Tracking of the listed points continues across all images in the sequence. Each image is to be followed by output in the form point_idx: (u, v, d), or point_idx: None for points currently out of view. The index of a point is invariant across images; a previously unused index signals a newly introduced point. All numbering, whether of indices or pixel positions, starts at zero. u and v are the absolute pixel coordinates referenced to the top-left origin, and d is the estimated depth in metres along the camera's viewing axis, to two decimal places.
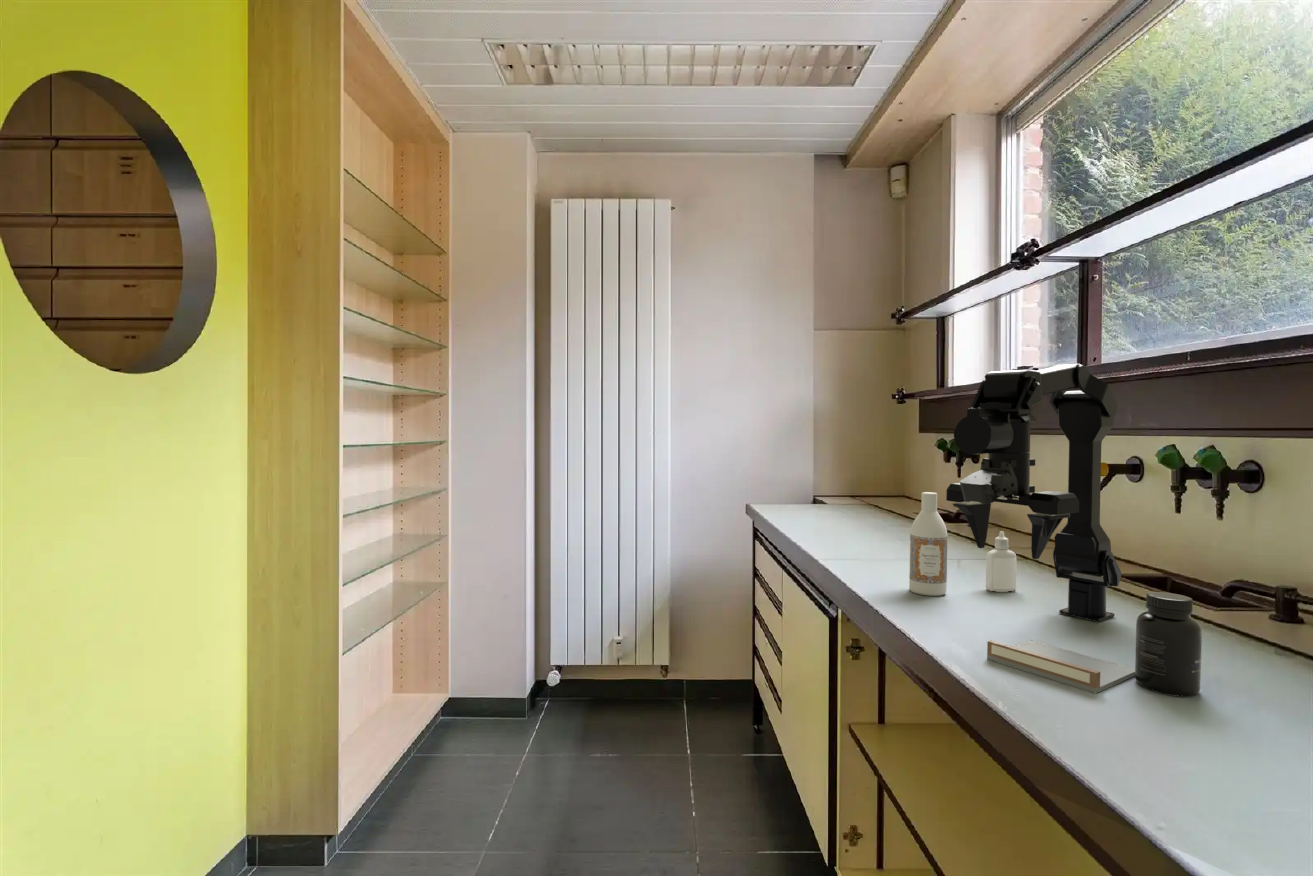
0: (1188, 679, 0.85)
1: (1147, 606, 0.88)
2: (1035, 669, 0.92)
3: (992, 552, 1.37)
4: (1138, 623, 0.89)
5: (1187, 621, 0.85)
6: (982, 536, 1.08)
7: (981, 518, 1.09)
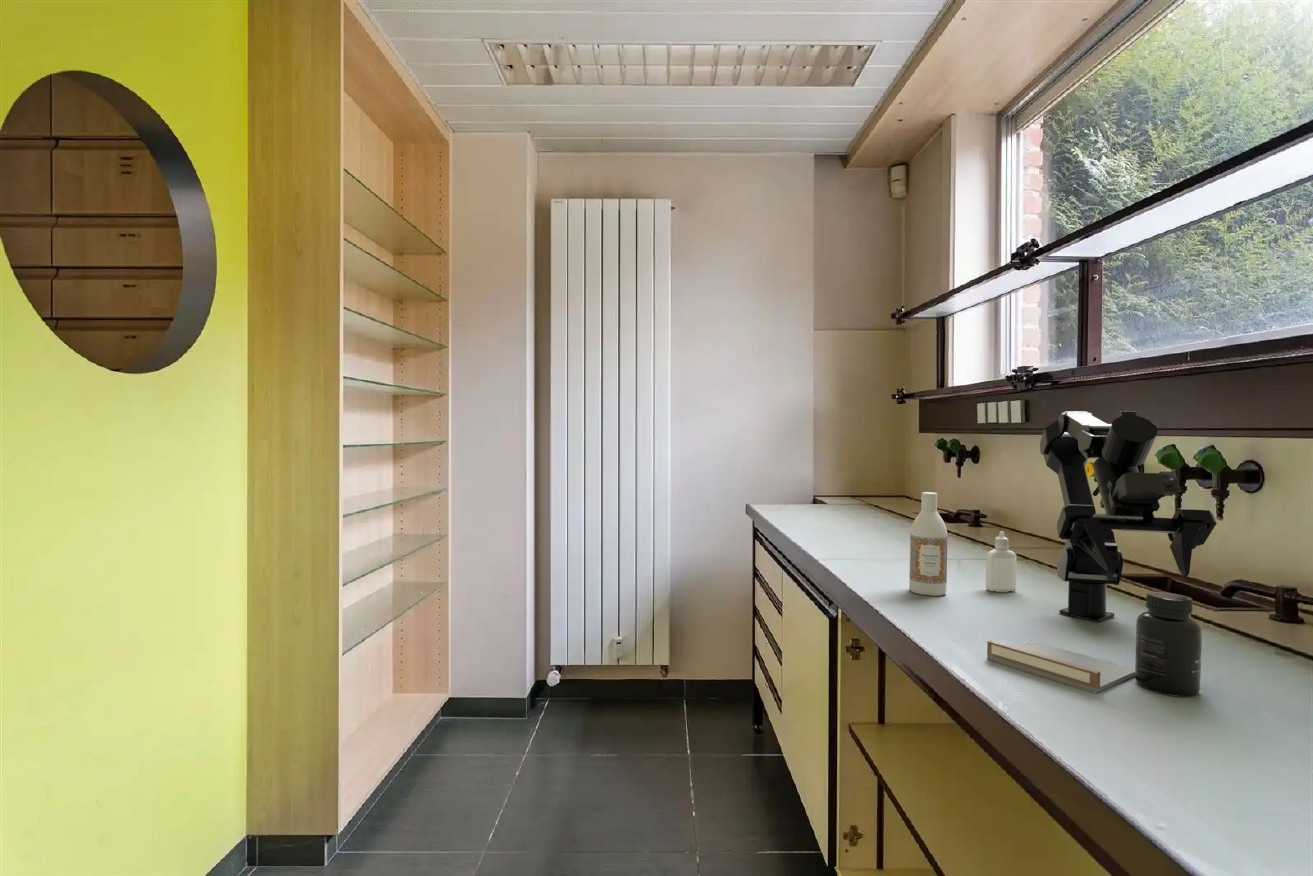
0: (1188, 679, 0.85)
1: (1147, 606, 0.88)
2: (1035, 669, 0.92)
3: (992, 552, 1.37)
4: (1138, 623, 0.89)
5: (1187, 621, 0.85)
6: None
7: None
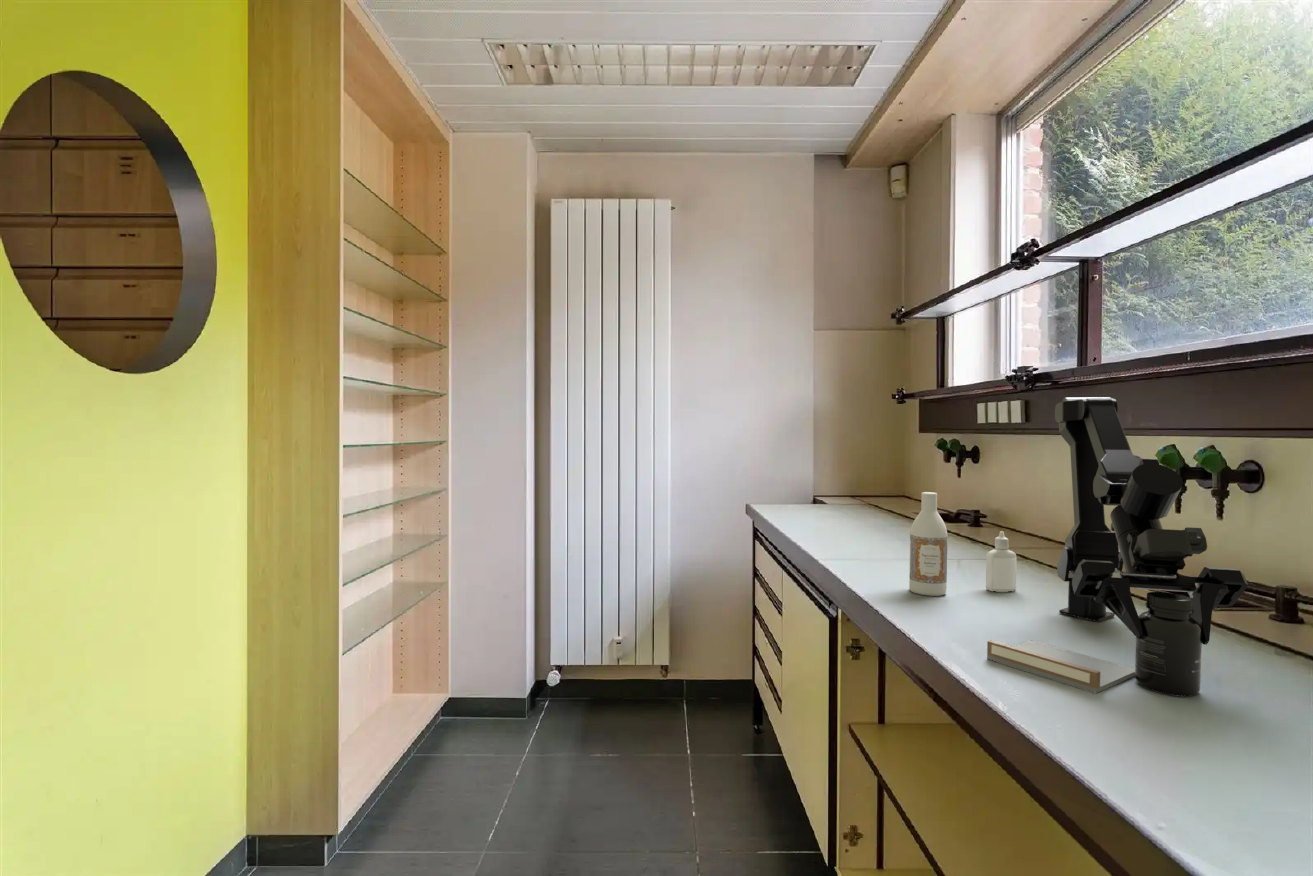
0: (1188, 679, 0.85)
1: (1147, 606, 0.88)
2: (1035, 669, 0.92)
3: (992, 552, 1.37)
4: None
5: (1187, 620, 0.85)
6: None
7: None
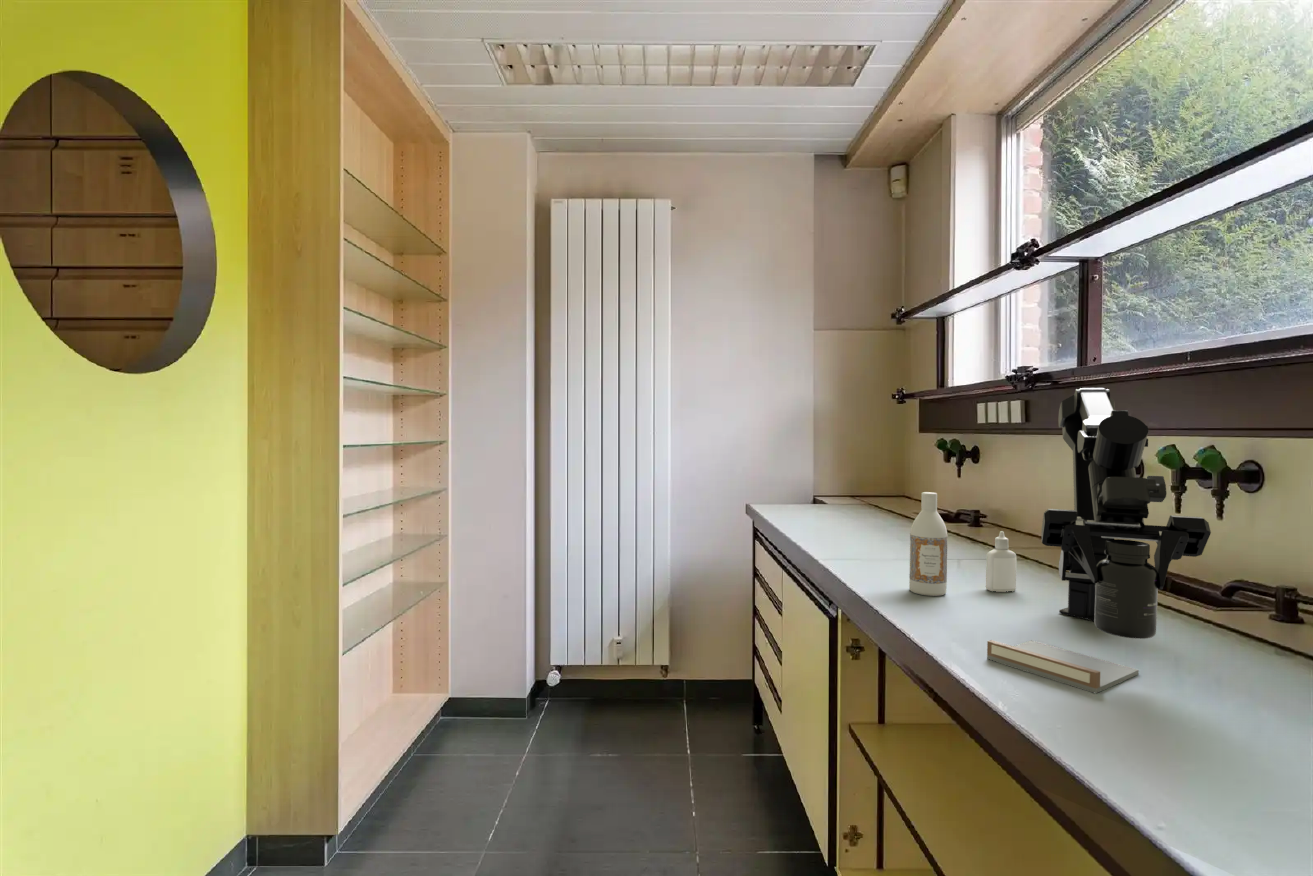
0: (1140, 621, 0.86)
1: (1105, 552, 0.90)
2: (1035, 669, 0.92)
3: (992, 552, 1.37)
4: None
5: (1141, 565, 0.87)
6: None
7: None
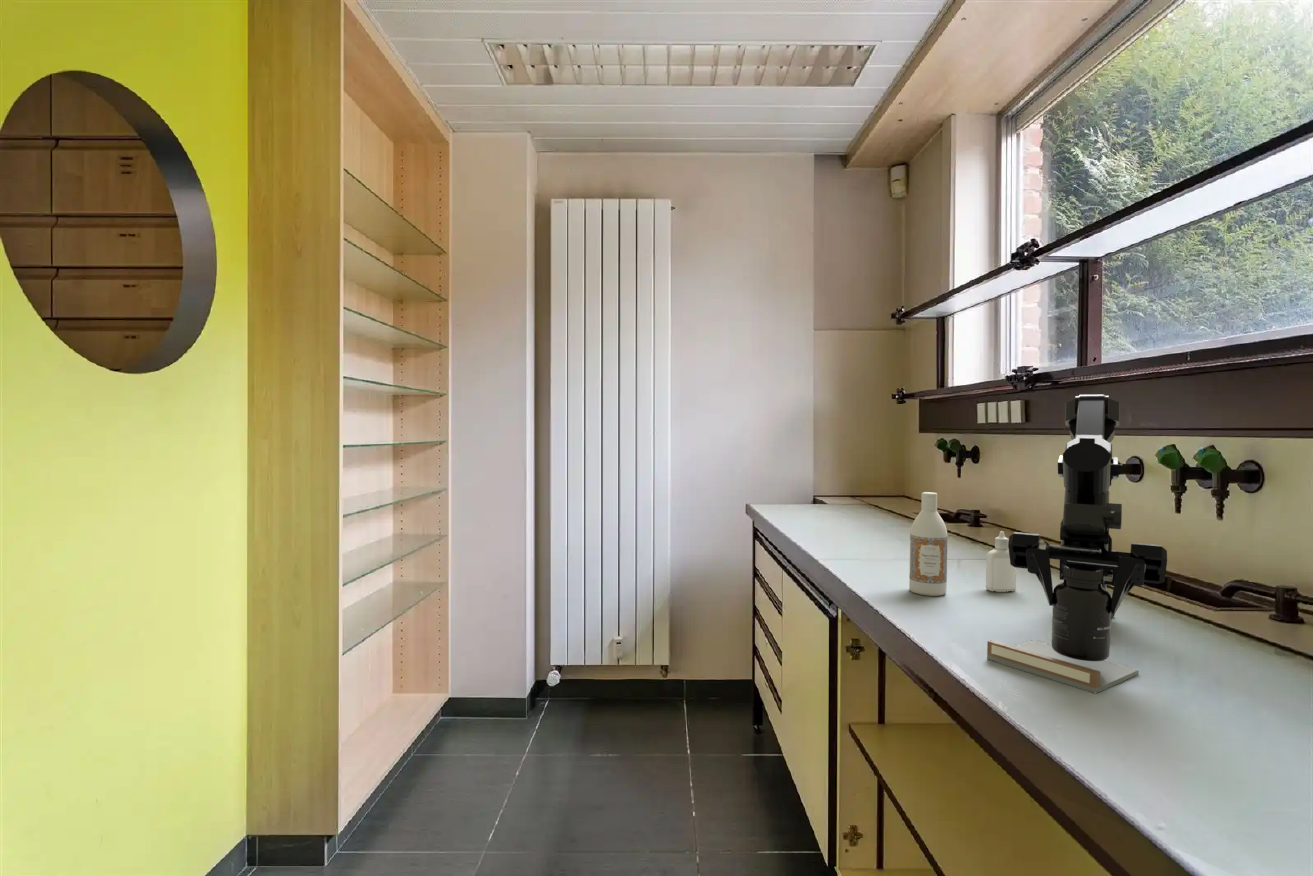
0: (1089, 644, 0.89)
1: (1061, 576, 0.94)
2: (1035, 669, 0.92)
3: (992, 552, 1.37)
4: (1053, 591, 0.94)
5: (1092, 590, 0.90)
6: None
7: None
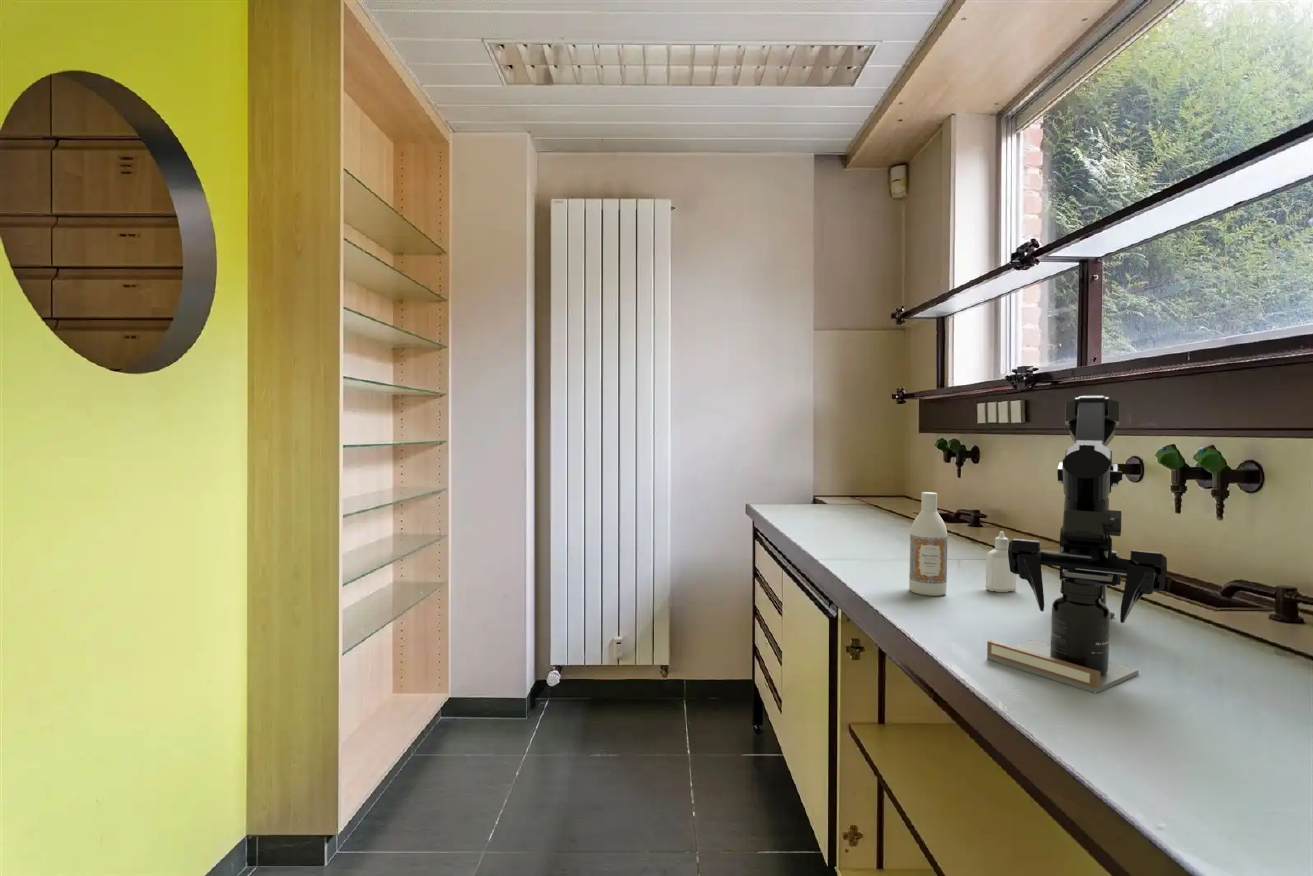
0: (1087, 659, 0.90)
1: (1060, 590, 0.94)
2: (1035, 669, 0.92)
3: (992, 552, 1.37)
4: (1052, 605, 0.95)
5: (1090, 605, 0.90)
6: None
7: None
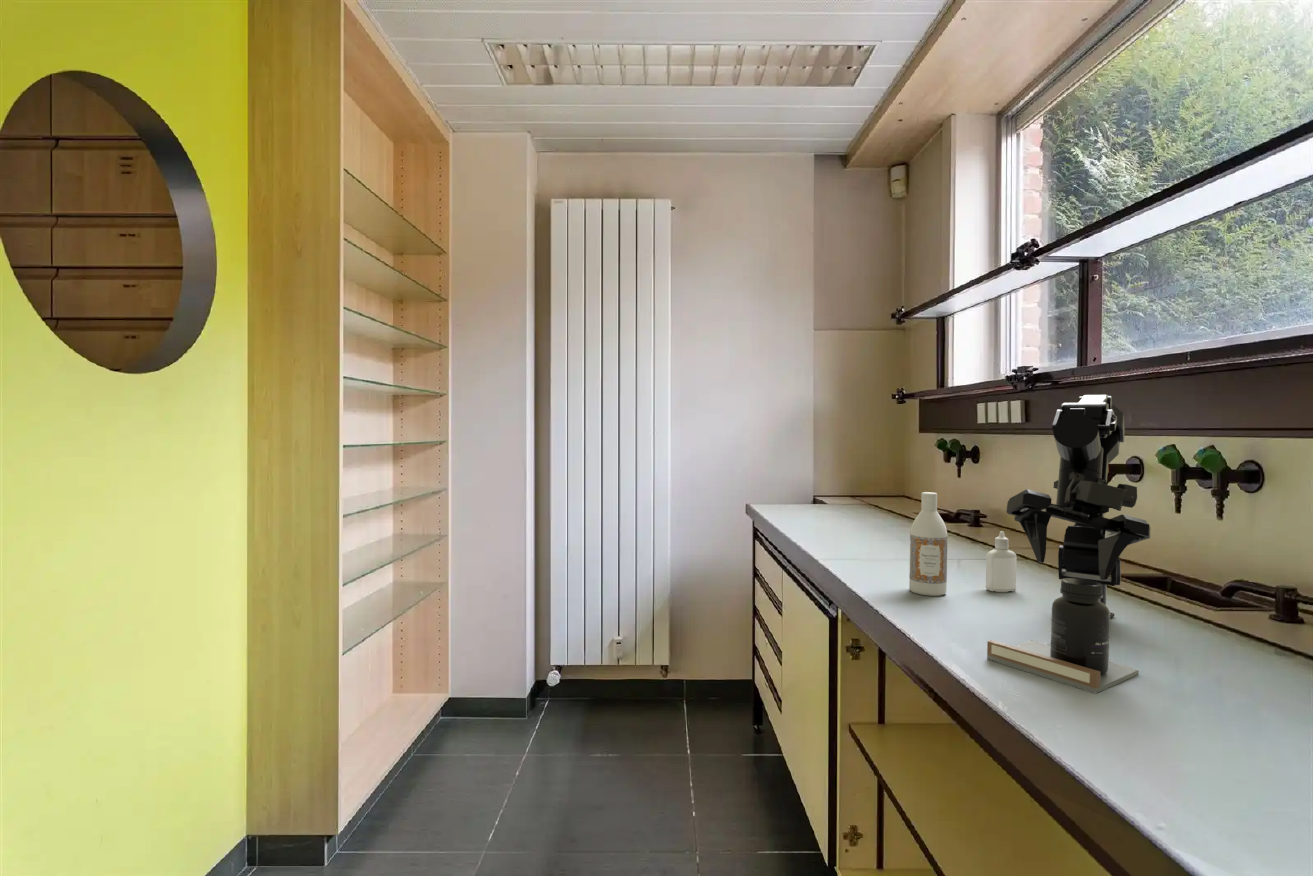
0: (1087, 659, 0.90)
1: (1060, 590, 0.94)
2: (1035, 669, 0.92)
3: (992, 552, 1.37)
4: None
5: (1090, 605, 0.90)
6: None
7: None
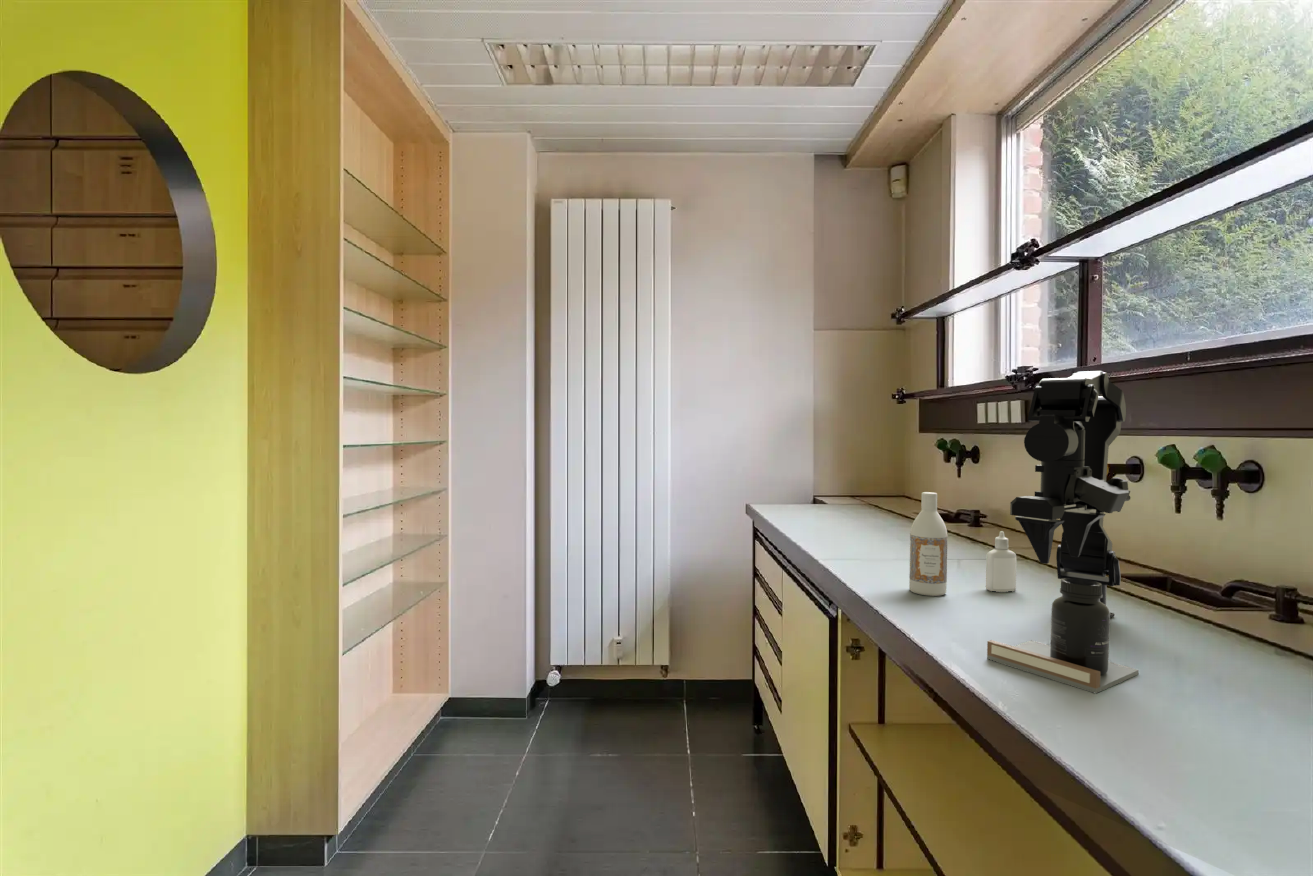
0: (1087, 659, 0.90)
1: None
2: (1035, 669, 0.92)
3: (992, 552, 1.37)
4: None
5: (1090, 604, 0.90)
6: None
7: None
